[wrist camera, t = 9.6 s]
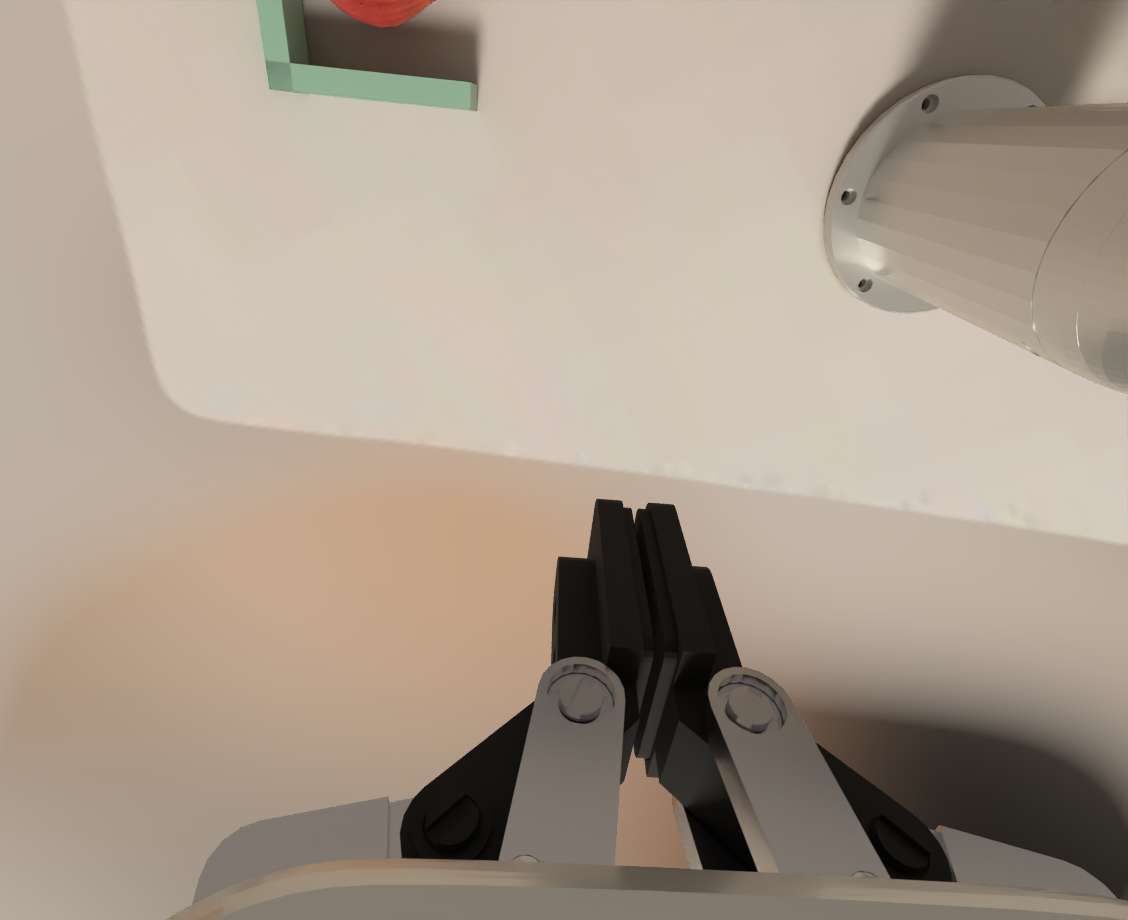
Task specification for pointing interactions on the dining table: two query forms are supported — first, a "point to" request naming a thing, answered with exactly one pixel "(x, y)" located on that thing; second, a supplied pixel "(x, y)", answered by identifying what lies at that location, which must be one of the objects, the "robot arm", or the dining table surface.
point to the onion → (382, 10)
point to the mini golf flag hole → (294, 73)
